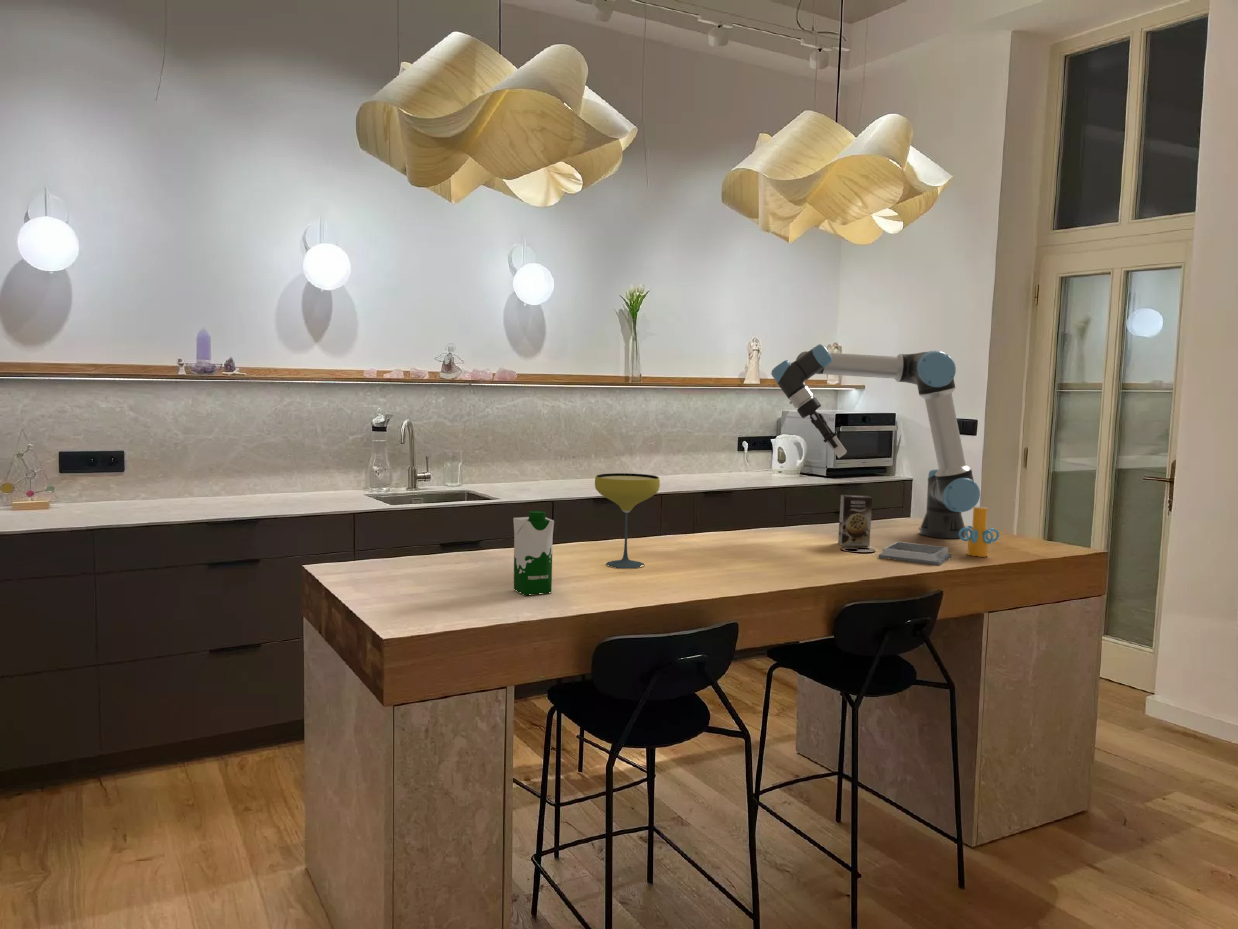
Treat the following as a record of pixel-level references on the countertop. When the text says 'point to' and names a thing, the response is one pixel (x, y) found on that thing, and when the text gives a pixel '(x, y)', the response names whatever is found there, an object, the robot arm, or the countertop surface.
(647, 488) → the cocktail glass
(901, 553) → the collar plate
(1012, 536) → the countertop surface
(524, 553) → the milk carton
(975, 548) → the yellow upright post
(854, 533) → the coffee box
